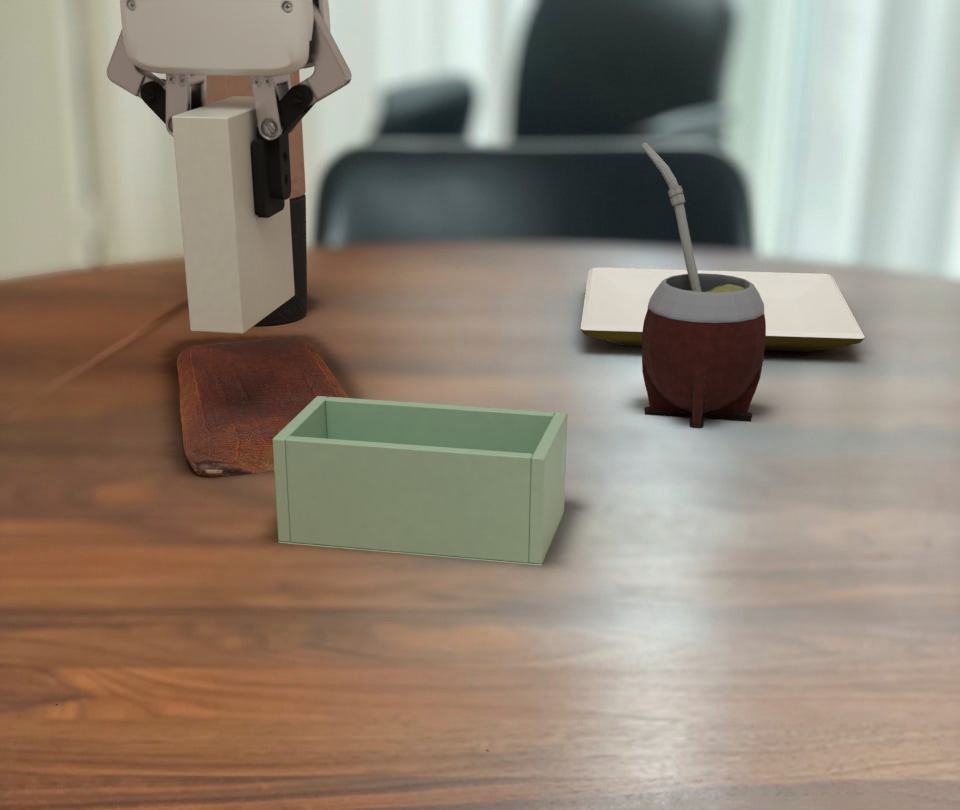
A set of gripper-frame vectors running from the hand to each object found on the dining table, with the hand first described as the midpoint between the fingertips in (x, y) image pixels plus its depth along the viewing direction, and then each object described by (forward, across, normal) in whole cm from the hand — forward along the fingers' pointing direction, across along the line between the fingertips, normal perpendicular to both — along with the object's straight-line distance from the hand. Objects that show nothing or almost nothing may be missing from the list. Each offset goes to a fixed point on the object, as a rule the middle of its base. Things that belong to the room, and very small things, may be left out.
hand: (237, 208), depth 82 cm
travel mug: (+12, +8, -25) cm, 29 cm away
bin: (+12, -14, +15) cm, 24 cm away
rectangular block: (+6, 0, 0) cm, 6 cm away
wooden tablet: (+12, 0, -3) cm, 13 cm away
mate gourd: (+13, -25, -7) cm, 29 cm away
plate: (+13, -25, -29) cm, 40 cm away
